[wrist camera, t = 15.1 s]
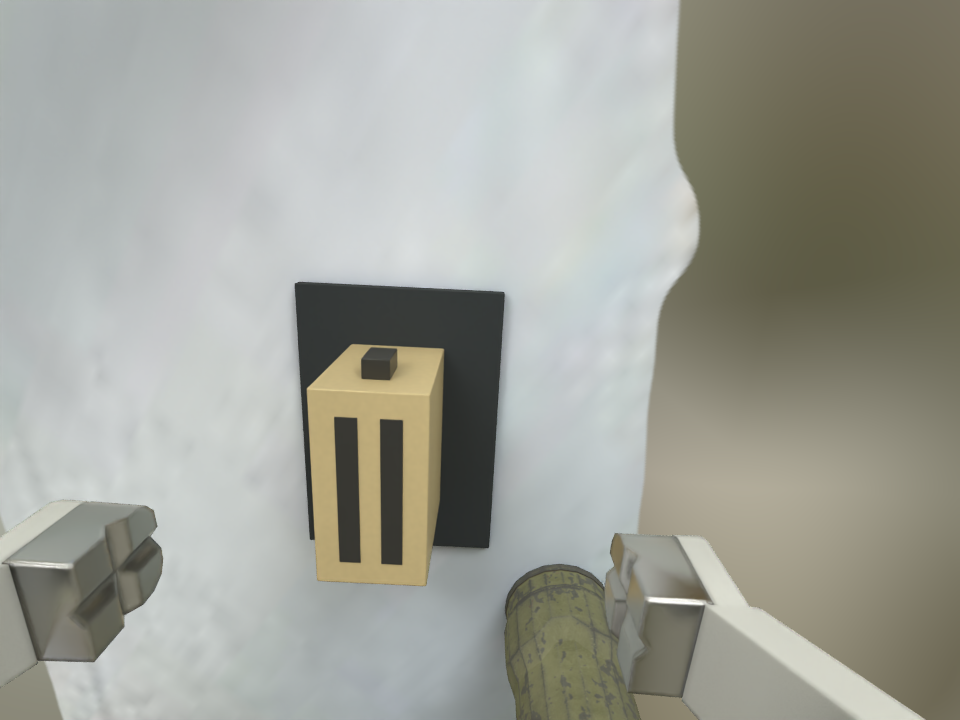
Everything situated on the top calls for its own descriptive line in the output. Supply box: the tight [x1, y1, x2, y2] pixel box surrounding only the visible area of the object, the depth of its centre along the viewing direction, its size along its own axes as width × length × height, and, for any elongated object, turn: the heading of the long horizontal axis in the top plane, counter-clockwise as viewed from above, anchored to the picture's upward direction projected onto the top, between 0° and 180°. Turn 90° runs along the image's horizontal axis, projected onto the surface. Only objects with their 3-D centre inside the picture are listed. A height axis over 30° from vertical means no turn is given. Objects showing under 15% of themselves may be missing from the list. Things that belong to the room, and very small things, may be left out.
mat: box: [295, 282, 505, 548], centre depth 36 cm, size 20×14×1 cm
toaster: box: [307, 344, 444, 586], centre depth 31 cm, size 13×6×9 cm, turn 177°
